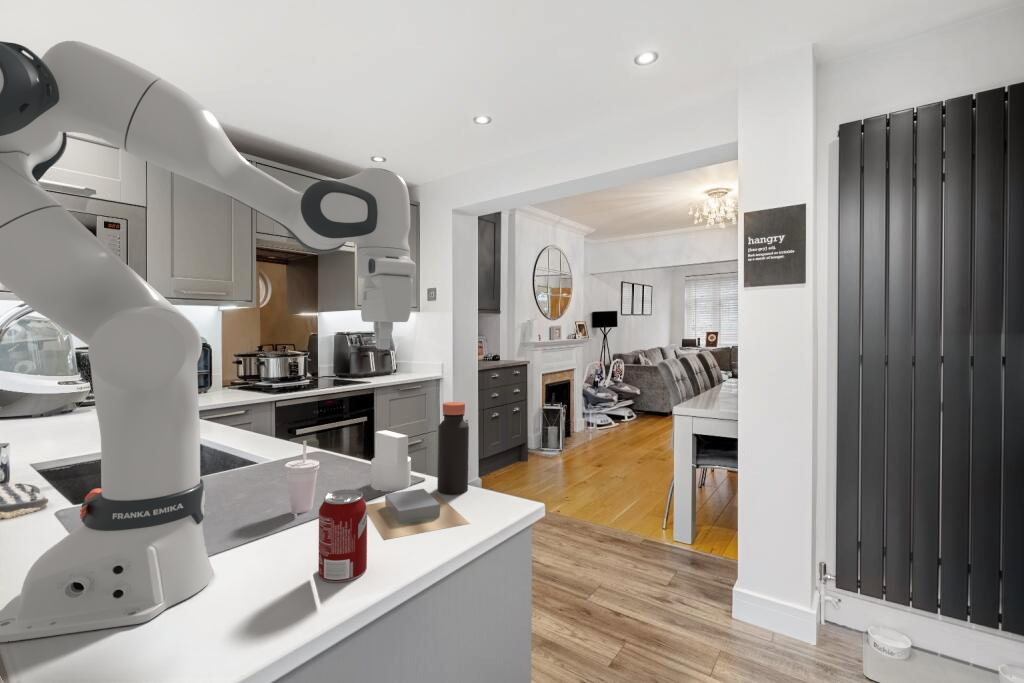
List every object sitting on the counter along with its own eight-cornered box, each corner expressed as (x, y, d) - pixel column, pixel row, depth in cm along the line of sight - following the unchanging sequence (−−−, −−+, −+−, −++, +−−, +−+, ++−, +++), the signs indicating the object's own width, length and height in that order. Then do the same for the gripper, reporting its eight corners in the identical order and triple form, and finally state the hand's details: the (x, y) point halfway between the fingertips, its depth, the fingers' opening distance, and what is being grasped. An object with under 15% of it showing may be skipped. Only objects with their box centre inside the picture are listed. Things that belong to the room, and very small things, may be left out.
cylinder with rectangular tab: (363, 485, 114) (363, 433, 113) (395, 476, 121) (395, 428, 120) (386, 494, 108) (386, 440, 108) (418, 484, 115) (419, 433, 114)
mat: (383, 543, 84) (383, 539, 84) (362, 508, 99) (362, 505, 99) (470, 526, 91) (470, 523, 91) (437, 496, 107) (437, 493, 107)
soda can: (351, 590, 69) (352, 505, 68) (308, 584, 70) (309, 501, 70) (374, 567, 75) (375, 489, 75) (334, 562, 77) (335, 486, 76)
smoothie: (326, 510, 98) (326, 440, 97) (297, 521, 92) (297, 447, 92) (306, 503, 101) (306, 436, 101) (277, 513, 96) (277, 442, 95)
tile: (398, 511, 90) (385, 494, 99) (398, 524, 90) (385, 506, 99) (440, 504, 94) (423, 488, 103) (439, 517, 94) (423, 500, 103)
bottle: (473, 491, 111) (475, 403, 110) (455, 499, 105) (456, 407, 105) (450, 485, 114) (451, 400, 114) (431, 493, 109) (432, 404, 108)
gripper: (353, 272, 92) (352, 346, 92) (378, 260, 74) (377, 352, 74) (386, 274, 95) (386, 346, 95) (419, 263, 77) (418, 352, 77)
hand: (382, 349), depth 84 cm, fingers closed
